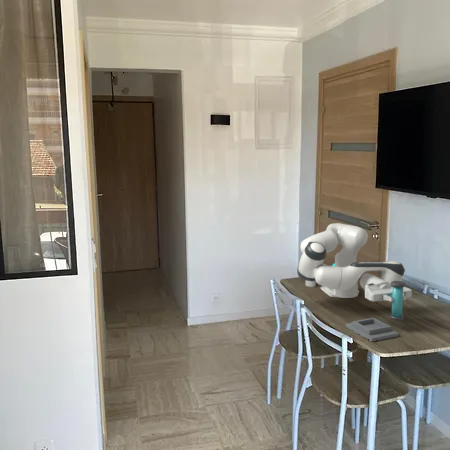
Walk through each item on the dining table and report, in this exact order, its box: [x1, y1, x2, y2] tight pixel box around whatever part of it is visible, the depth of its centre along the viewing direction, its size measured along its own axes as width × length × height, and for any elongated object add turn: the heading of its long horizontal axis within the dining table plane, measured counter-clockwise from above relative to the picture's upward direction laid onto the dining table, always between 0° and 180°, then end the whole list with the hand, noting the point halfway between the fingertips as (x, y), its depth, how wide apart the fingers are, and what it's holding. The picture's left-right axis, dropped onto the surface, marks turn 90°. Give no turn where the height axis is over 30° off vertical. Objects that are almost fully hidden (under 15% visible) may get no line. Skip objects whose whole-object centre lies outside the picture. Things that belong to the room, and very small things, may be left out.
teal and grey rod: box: [389, 281, 406, 321], centre depth 207 cm, size 6×6×16 cm
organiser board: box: [345, 317, 399, 342], centre depth 207 cm, size 18×14×4 cm
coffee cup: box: [304, 280, 317, 288], centre depth 274 cm, size 8×8×15 cm
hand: (398, 299), depth 206 cm, fingers closed on teal and grey rod, 4 cm apart
